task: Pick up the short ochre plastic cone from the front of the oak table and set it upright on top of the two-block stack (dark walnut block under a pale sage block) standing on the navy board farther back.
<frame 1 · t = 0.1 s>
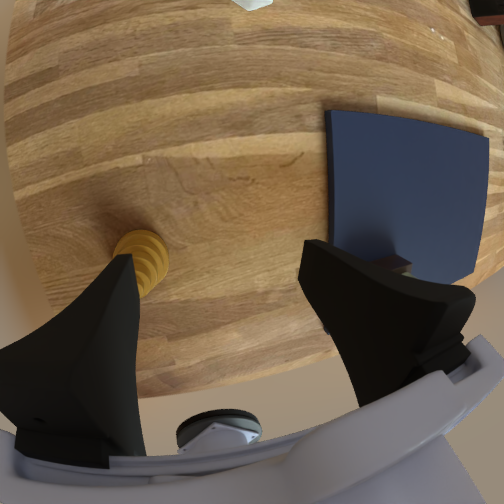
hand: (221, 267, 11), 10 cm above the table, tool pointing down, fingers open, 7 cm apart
block stack: (369, 290, 27), point 1 cm above the table, touching board
board: (429, 215, 28), on the table
cone: (141, 256, 20), on the table
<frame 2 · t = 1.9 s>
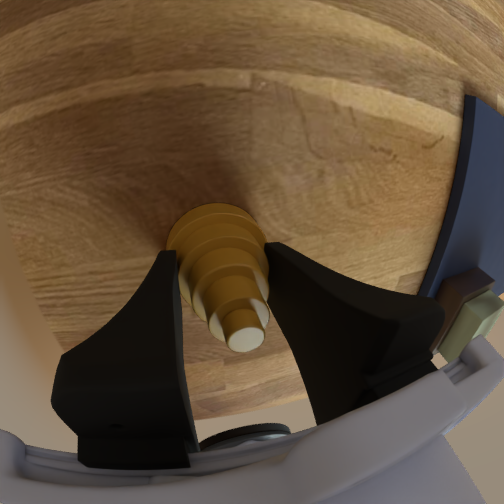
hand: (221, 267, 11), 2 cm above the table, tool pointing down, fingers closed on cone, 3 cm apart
block stack: (448, 303, 21), point 1 cm above the table, touching board
board: (503, 228, 21), on the table
cone: (214, 248, 13), on the table, touching gripper
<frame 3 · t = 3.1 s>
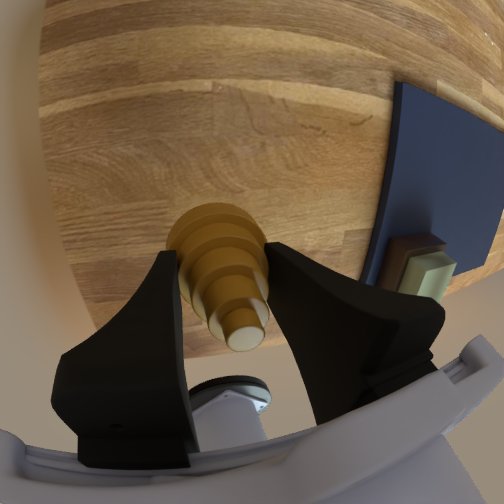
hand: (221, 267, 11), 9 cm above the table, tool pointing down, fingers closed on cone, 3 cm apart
block stack: (403, 263, 26), point 1 cm above the table, touching board
board: (460, 202, 26), on the table
cone: (214, 248, 13), point 7 cm above the table, touching gripper
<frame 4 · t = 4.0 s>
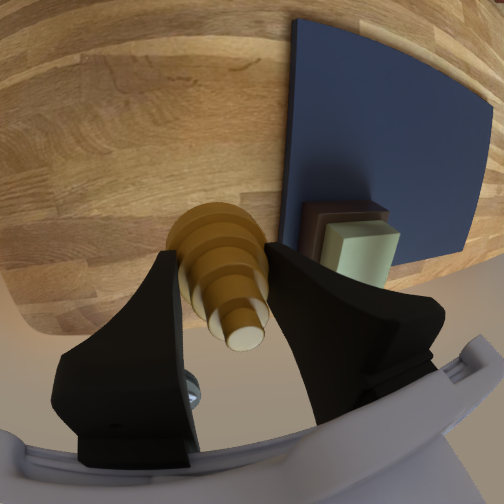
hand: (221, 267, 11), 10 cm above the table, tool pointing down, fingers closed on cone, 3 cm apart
block stack: (333, 238, 24), point 1 cm above the table, touching board
board: (417, 167, 24), on the table
cone: (214, 248, 12), point 8 cm above the table, touching gripper
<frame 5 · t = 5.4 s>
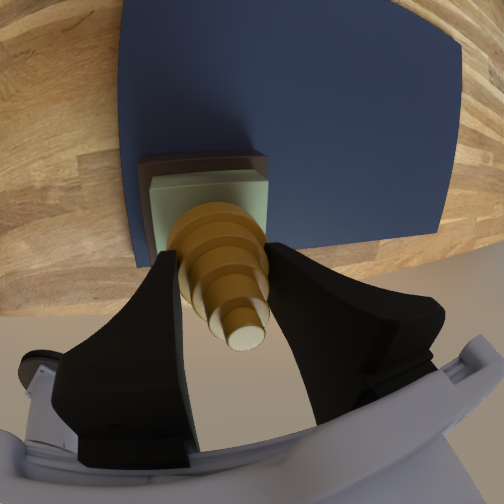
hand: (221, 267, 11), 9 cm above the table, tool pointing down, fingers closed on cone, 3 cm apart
block stack: (200, 203, 18), point 1 cm above the table, touching board
board: (339, 108, 18), on the table
cone: (214, 247, 12), point 7 cm above the table, touching gripper
when the fingers open (8 cm above the table, at t = 6.1 s): cone stays where it is, resting on block stack.
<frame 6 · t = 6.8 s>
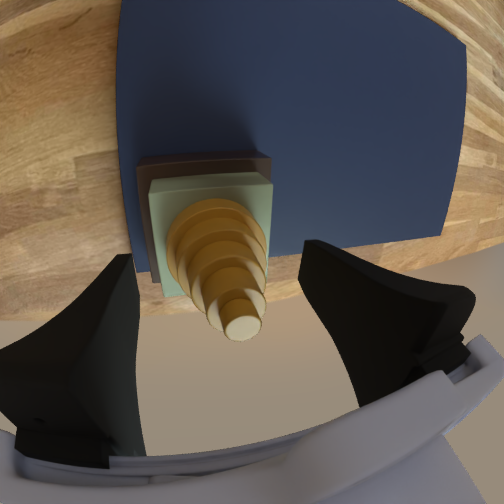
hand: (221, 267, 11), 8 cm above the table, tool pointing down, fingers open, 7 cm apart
block stack: (201, 207, 17), point 1 cm above the table, touching board, cone
board: (344, 108, 17), on the table
cone: (213, 243, 13), point 6 cm above the table, touching block stack
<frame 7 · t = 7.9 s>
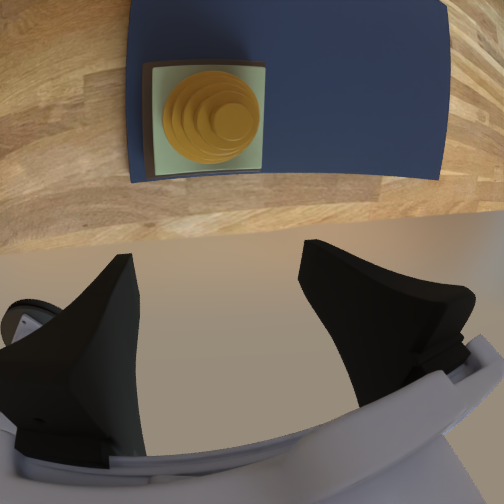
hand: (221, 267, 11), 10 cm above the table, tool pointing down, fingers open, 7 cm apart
block stack: (199, 115, 16), point 1 cm above the table, touching board, cone
board: (332, 43, 16), on the table
cone: (208, 116, 12), point 6 cm above the table, touching block stack
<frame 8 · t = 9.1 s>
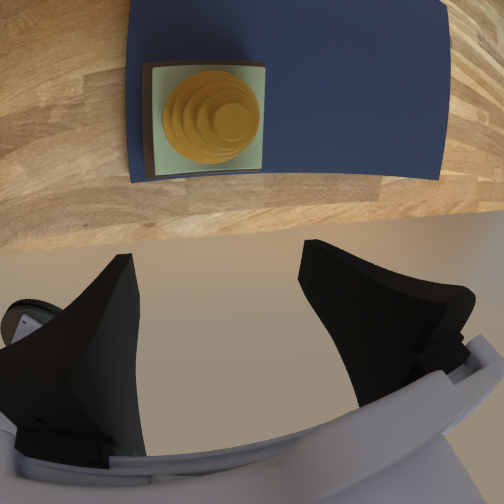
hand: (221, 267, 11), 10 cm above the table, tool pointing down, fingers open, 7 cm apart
block stack: (199, 115, 16), point 1 cm above the table, touching board, cone
board: (332, 43, 16), on the table
cone: (208, 116, 12), point 6 cm above the table, touching block stack
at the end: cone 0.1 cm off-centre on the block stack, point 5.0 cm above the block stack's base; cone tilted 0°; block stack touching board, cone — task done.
